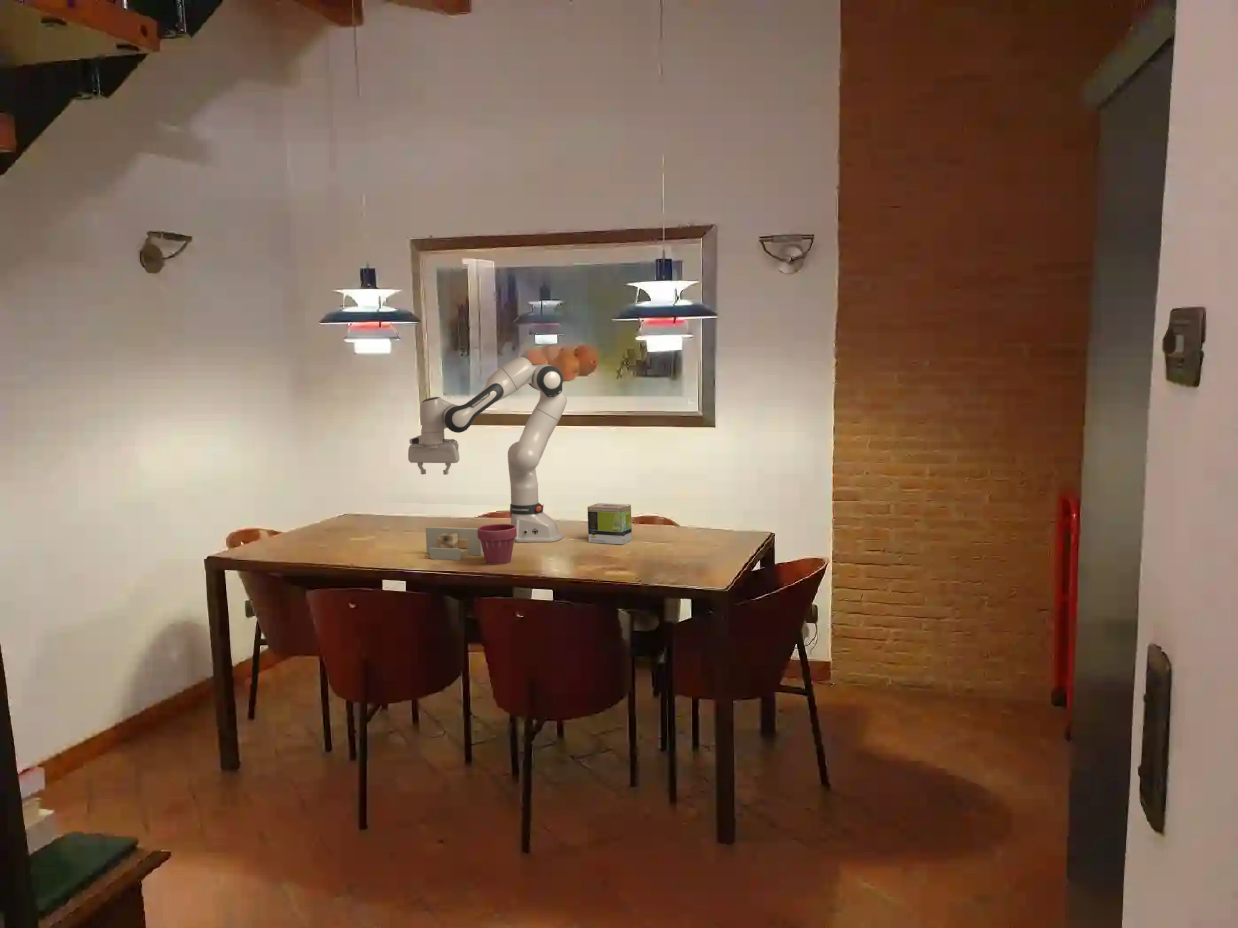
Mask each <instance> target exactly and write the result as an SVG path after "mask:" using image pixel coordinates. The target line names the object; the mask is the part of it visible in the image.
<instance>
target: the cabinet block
mask: <svg viewBox="0 0 1238 928" xmlns="http://www.w3.org/2000/svg"><path fill="white" fill-rule="evenodd" d="M440 543H441V548H453V549H458V534H456V533H444V534H442V535H440Z"/></svg>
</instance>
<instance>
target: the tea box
mask: <svg viewBox="0 0 1238 928" xmlns="http://www.w3.org/2000/svg"><path fill="white" fill-rule="evenodd" d="M632 526H633V525H632V505H631V504H629V503H627V504H626V503H625V504H624V503H623V504H622V503H604V502H603V503H602V502H597V503H593V504H592V505H589V506H587V533H588V534H587V535H588V543H594V544H595V543H597V544H609V545H624V544H627V543H629V542H632V539H633V535H632V534H633V531H632V530H633V529H632Z"/></svg>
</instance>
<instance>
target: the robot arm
mask: <svg viewBox="0 0 1238 928" xmlns="http://www.w3.org/2000/svg"><path fill="white" fill-rule="evenodd" d="M563 378H564V377H563V374H562V372H561V371H560V369H559V368H558V367H556V366H553V365H550V364H548V363H533V364H532V362H531V361H530V360H529V359H528V358H527V357H523V356H520V357H517V358H514V359H513V360H510V361H509V362H506V363H505V364H503V365H502V366H501V367H499V368H498V369H496V370H495V371H494V372H493V373H491V375H490V376H489V377H488V378H487V380H486V383H485V386H484V387H483V389H482V390H481V392H479V393H477V395H475V396H474V397H473V398H471V399H469V400H468V401H467V402H466V403H463V404H460V405H458V404H454V403H451V402H449V401H446V400H444V399H443V398H442V397H440V396H433V397H429V398H428V397H427V398H425V399H424V400H422V402H421V403H420V409H419V410H420V411H419V412H420V413H419V415H420V419H419V420H420V424H421V430H420V435H417V436H416V437H412V438H410V439H409V444H410V445H409V447H408V453H407V459H408V462H409V463H411V464H417V467H418V469H419V470H420V474H421V475H426V474H427V469H425V468H424V464H445V466H446V467H445V469H442V472H443V473H442V475H449V470H450V468H451V467H452V464H457V463H458V462H459V461H460V453H459V452H460V451H459V442H458V441H457V440H455V439H454V438H451V439H450V438H445V429H448V430H450V431H451V432H453V433H458V434H459V433H463V432H466V431H468V429H469V428H470V426H471V425H472V423H473V421H474V420H475V418H477V416H479V415H480V414H481V413H483V412H484V411H486V409H488V408H490V406H492V405H494V404H495V403H497V402H499V401H501V400H503V399H505V398H507V397H509V396H511V395H513V394H514V393H515V392H517V391H518V390H519V389H521V388H522V387H523V386H525V385H529V386H530V387H531V388H533V389H535V390H536V391H539V399H538V402H537V404H536V405H535V407H534V409H533V411H532V412H531V414H530V416H529V417H528V419H527V421H526V422H525V425H524V428H523V431H522V434H521V435H520V437H519V440H518V441H516V442H514V443H512V444H511V445H510V446H509V448H508V449H507V463H508V464H507V466H508V475H509V482H510V483H509V484H510V504H509V513H510V514H509V515H510V524H511V525H515V526H516V530H517V536H516V537H515V538H514V542H516V543H540V542H541V543H545V542H547V543H549V542H551V543H553V542H558V541H560V540H562V539H563V538H564V533H563V532H559V529H558V524H557V522H556V521H555V520H554V519H553V518H551V517H550V515H547V514H546V513H545V512H544V507H545V504H544V503H543V504H542V503H540V502H539V483H538V478H537V469H536V468H537V467H538V465H539V463H540V461H541V458H542V456H543V455H544V451H545V450H546V447H547V445H548V442H549V441H550V440H549V439H551V438H550V437H551V436H552V434H553V432H554V430H555V428H556V426H557V425H558V423H559V421H560V419H561V417H562V416H563V414H564V411H565V408H566V405H567V403H568V399H567V396H566V394H565V393H564V392H563V382H564V379H563Z"/></svg>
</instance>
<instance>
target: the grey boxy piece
mask: <svg viewBox="0 0 1238 928" xmlns="http://www.w3.org/2000/svg"><path fill="white" fill-rule="evenodd" d="M478 528H479V527H451V526H449V527H446V526H445V527H444V526H443V527H442V526H426V527H425V543H426V554H427V555H429V559H430V560H452V561H453V560H454V561H461V560H463V559H465V558H467V557H468V556H476V557H477V556H484V553H483V549H482V545H481V541H480V539H478ZM444 533H456V534H458V549H453V548H441V543H440V535H442V534H444Z"/></svg>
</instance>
